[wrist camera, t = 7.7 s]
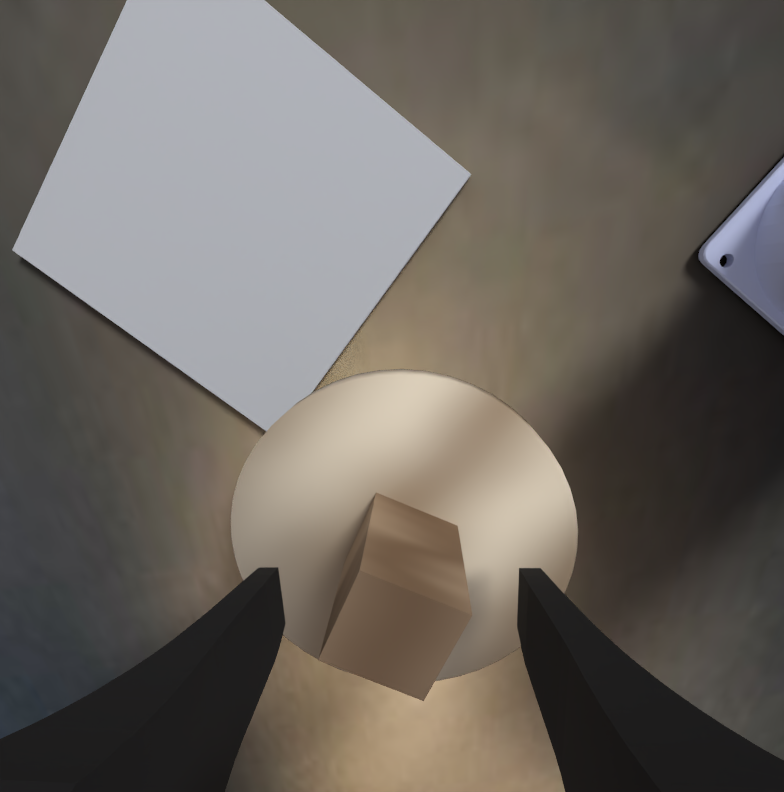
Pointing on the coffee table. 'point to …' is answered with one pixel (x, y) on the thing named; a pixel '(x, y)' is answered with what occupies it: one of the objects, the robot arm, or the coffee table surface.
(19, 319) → the coffee table surface
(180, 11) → the mat
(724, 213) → the coffee table surface
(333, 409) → the lid
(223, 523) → the coffee table surface
